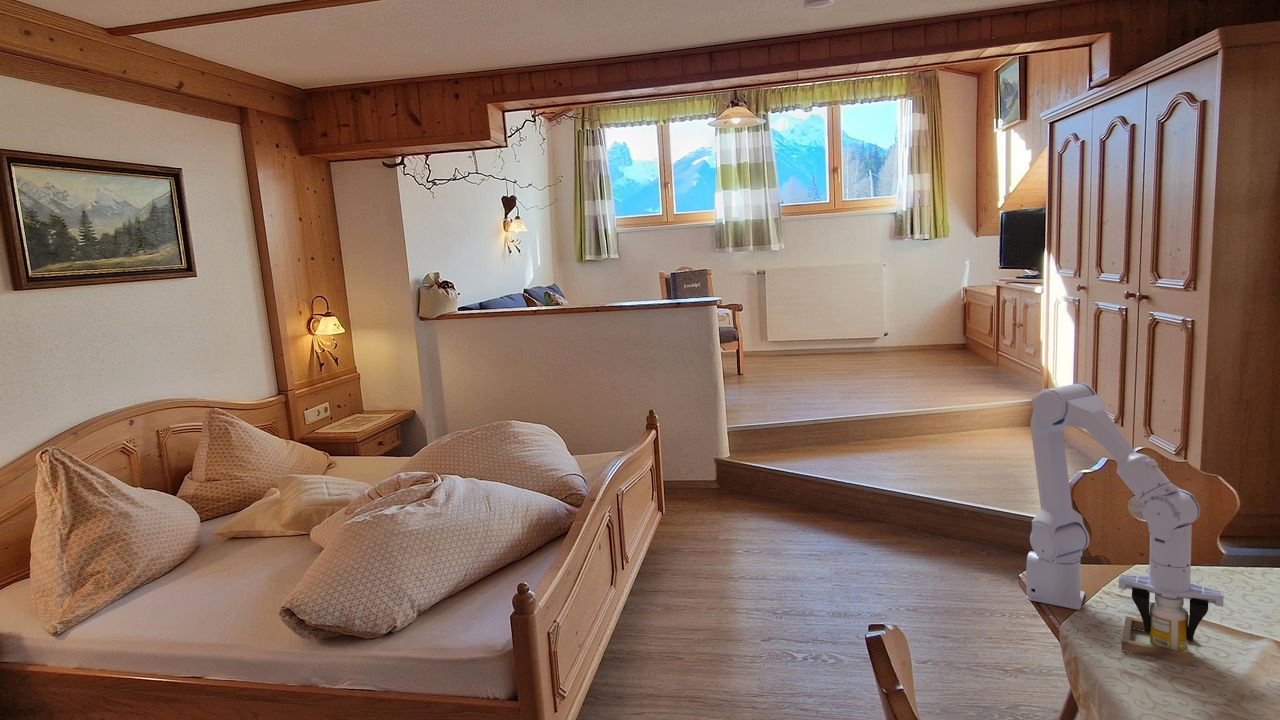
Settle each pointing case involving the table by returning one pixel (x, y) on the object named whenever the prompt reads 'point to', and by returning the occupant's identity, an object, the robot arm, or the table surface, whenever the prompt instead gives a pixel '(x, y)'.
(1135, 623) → the wooden frame
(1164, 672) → the table surface
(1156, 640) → the supplement bottle
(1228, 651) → the table surface
